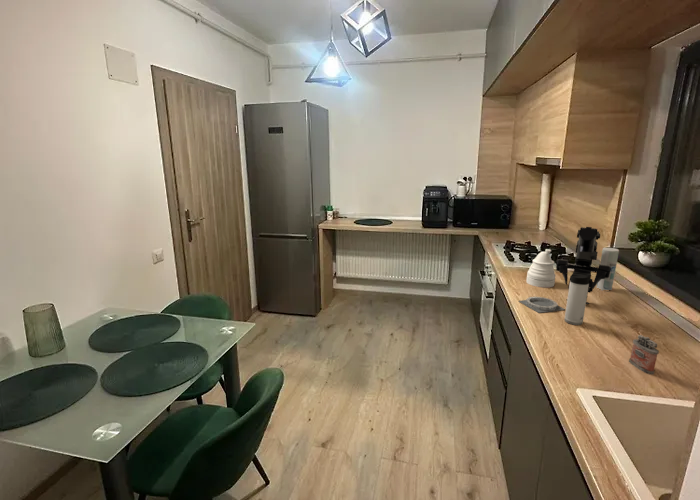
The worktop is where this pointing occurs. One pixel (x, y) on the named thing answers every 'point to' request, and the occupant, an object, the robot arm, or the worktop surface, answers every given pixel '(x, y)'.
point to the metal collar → (547, 308)
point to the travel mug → (577, 298)
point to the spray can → (610, 259)
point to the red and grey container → (644, 354)
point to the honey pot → (541, 271)
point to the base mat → (541, 303)
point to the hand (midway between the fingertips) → (579, 286)
